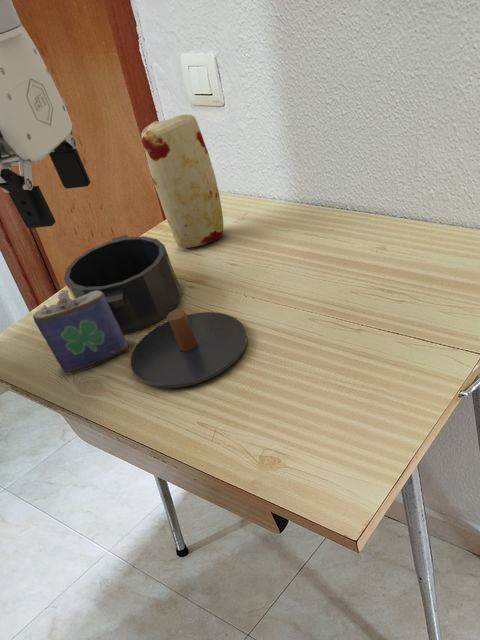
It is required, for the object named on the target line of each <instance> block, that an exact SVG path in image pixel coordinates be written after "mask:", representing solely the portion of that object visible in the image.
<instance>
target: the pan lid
mask: <svg viewBox="0 0 480 640" xmlns="http://www.w3.org/2000/svg"><path fill="white" fill-rule="evenodd" d="M166 318H167V321H166V322H164V323H161V324H160V325H158V326H156V327H155V328H154V329H151V331H149V332H148V333H147V334H145V336H143V337H142V338H141V340H140V341H138V343H137V344H136V346H135V347H134V349H133V351H132V354H131V355H130V367H131V370H132V372H133V374H134V375H135V377H136V378H137V379H138V380H139V381H141V382H142V383H144V384H146V385H148V386H152V387H154V388H155V387H157V388H161V389H162V388H164V389H174V388H175V389H177V388H184V387H189V386H193V385H197V384H200V383H203V382H205V381H207V380H210V379H212V378H214V377H216V376H218V375H219V374H221V373H223V372H224V371H226V370H227V369H228V368H230V367H231V366H233V364H235V362H237V360H239V358H240V357H241V355H242V354H243V353H244V350H245V348H246V346H247V342H248V335H247V331H246V328H245V326H244V325H243V323H242V322H241V321H240V320H239V319H237V318H236V317H234V316H232V315H230V314H226V313H222V312H214V311H206V312H205V311H204V312H203V311H202V312H195V313H194V312H193V313H189V314H187V313H186V310H185V309H183V308H181V309H180V308H177V309H174V310H173V311H171V312H170V313H169V314H168V315H167V316H166Z"/></svg>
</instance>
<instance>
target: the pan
mask: <svg viewBox="0 0 480 640" xmlns="http://www.w3.org/2000/svg"><path fill="white" fill-rule="evenodd" d="M63 281H64V282H65V285H66V287H67V288H68V291H69V292H70V295H71V296H72V298H73V299H76V298H78V297H81V296H83V295H86V294H88V293H90V292H92V291H96V290H97V291H101V292H103V294H104V295H105V298H106V301H107V302H108V304H109V307H110V309H111V311H112V313H113V315H114V317H115V319H116V321H117V323H118V325H119V327H120V330H121V332H122V334H123V335H125V334H130V333H134V332H137V331H141V330H143V329H146V328H149V327H151V326H153V325H155V324H158V323H159V322H160V321H162V320H164V319H165V318H167V315H168V314H169V313H170V312H171V311H173V310H176V308H177V306H178V305H179V303H180V302H181V301H180V300H181V299H182V293H181V289H180V284H179V281H178V279H177V276H176V273H175V271H174V268H173V265H172V262H171V259H170V257H169V254H168V251H167V249H166V246H165V244H164V243H162V242H161V241H160V240H159V239H157V238H153V237H148V236H129V237H128V234H124V235H119V236H115V237H112V238H111V240H110V241H107V242H104V243H102V244H100V245H97V246H94V247H93V248H90V249H88V250H87V251H85V252H84V253H82V254H81V255H78V256H77V257H76V258H75V259H74V260H72V262H71V263H70V264H69V265H68V266H67V267H66V268H65V271H64V276H63Z"/></svg>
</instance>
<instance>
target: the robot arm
mask: <svg viewBox="0 0 480 640" xmlns="http://www.w3.org/2000/svg"><path fill="white" fill-rule="evenodd" d="M72 129H73V123H72V120H71V117H70V114H69V113H68V109H67V104H66V100H65V98H64V97H63V96H61V94H60V92H59V90H58V88H57V86H56V84H55V82H54V80H53V77H52V75H51V74H50V71H49V69H48V68H47V65H46V63H45V61H44V60H43V58H42V56H41V54H40V52H39V49H38V48H37V47H36V45H35V43H34V41H33V40H32V38H31V36H30V35H29V33H28V32H27V30H26V28H25V27H24V26H23V24H22V22H21V19H20V17H19V15H18V12H17V10H16V8H15V6H14V3H13V1H12V0H0V189H1V191H2V192H3V193H5V194H8V195H9V197H10V199H11V201H12V203H13V205H14V206H15V208H16V210H17V212H18V215H19V216H20V218H21V220H22V222H23V223H24V226H25V227H26V228H28V229H37V228H45V227H47V228H48V227H52V226H54V225H55V224H56V219H55V217H54V214H53V213H52V211H51V208H50V206H49V204H48V201H47V200H46V198H45V196H44V194H43V192H42V190H41V188H40V186H39V185H34V178H33V168H32V167H33V166H32V162H34V163H35V162H41V161H43V160H44V159H45V158H46V157H48V156H49V158H50V160H51V162H52V164H53V167H54V169H55V170H56V173H57V175H58V177H59V180H60V182H61V184H62V186H63V188H65V189H67V190H68V189H77V188H78V189H79V188H84V187H89V185H90V184H91V180H90V178H89V175H88V173H87V171H86V168H85V166H84V163H83V161H82V158H81V156H80V153H79V151H78V149H77V145H78V144H77V140H76V138H75V137H74V136H73V130H72ZM16 167H18V169H19V174H18V173H16V172H15V171H13V169H12V168H16Z"/></svg>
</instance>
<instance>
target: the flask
mask: <svg viewBox="0 0 480 640" xmlns="http://www.w3.org/2000/svg"><path fill="white" fill-rule="evenodd" d="M56 296H57V299H59V300H58V301H57V302H56V304H50V305H48V306H46V305H43V306H42V308H40V309H39V310H37V311H36V312H35V313H34V314H33V315H32V318H33V321H34V323H35V325H36V326H37V328H38V330H39V332H40V334H41V336H42V337H43V339H44V340H45V342H46V344H47V346H48V347H49V349H50V350H51V353H52V354H53V356H54V358H55V360H56V362H57V363H58V365H59V366H60V368H61V369H62V370H63V372H64V373H65V374H66V375H68V374H69V375H72V374H76V373H79V372H83V371H85V370H89V369H92V368H93V367H96V366H98V365H100V364H104V363H105V362H109V361H111V360H112V359H114V358H116V357H119V356H121V355H123V354H124V353H126V352H128V350H129V343H128V341H127V340H126V337H125V336H124V335H125V334H122V332H121V330H120V327H119V325H118V323H117V321H116V319H115V317H114V315H113V313H112V311H111V309H110V307H109V304H108V302H107V301H106V298H105V295H104V294H103V292H101V291H97V290H96V291H92V292H90V293H88V294H86V295H83V296H81V297H78V298H76V299H74V298H73V299H72V298H70V295H69V289H62V290H61V291H60V293H58V294H56Z"/></svg>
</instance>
